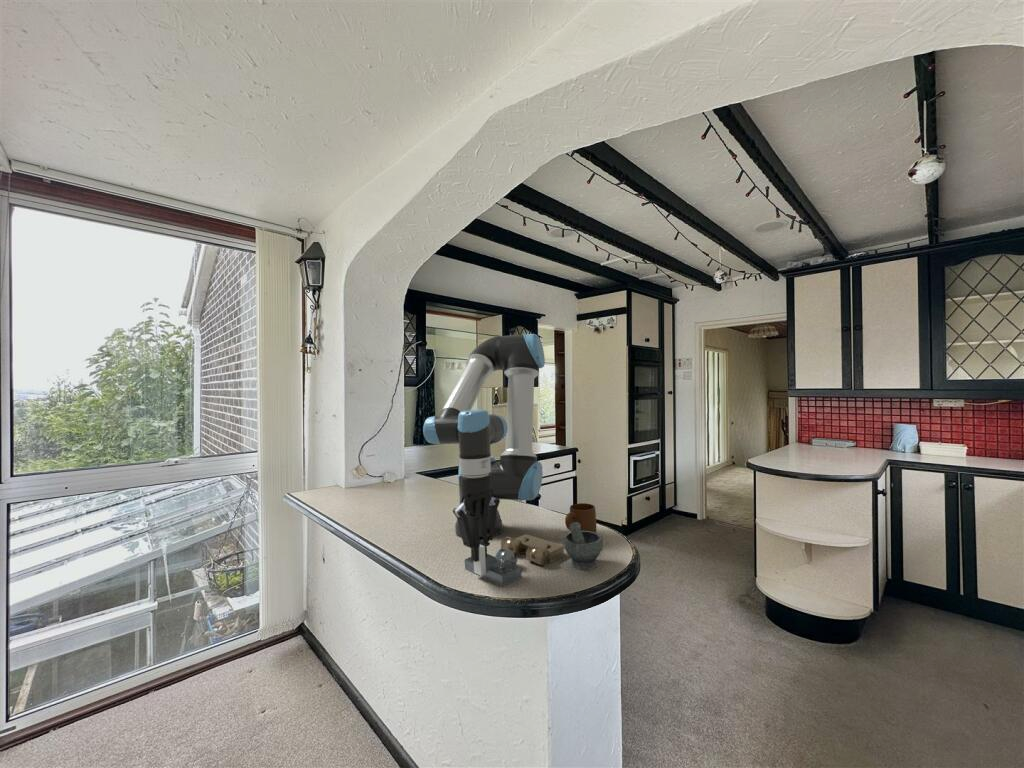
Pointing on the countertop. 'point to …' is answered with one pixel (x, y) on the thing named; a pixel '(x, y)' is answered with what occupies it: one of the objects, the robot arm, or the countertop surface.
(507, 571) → the loose leaf
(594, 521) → the mug
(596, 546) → the mortar and pestle
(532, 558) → the fixed leaf
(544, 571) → the countertop surface
